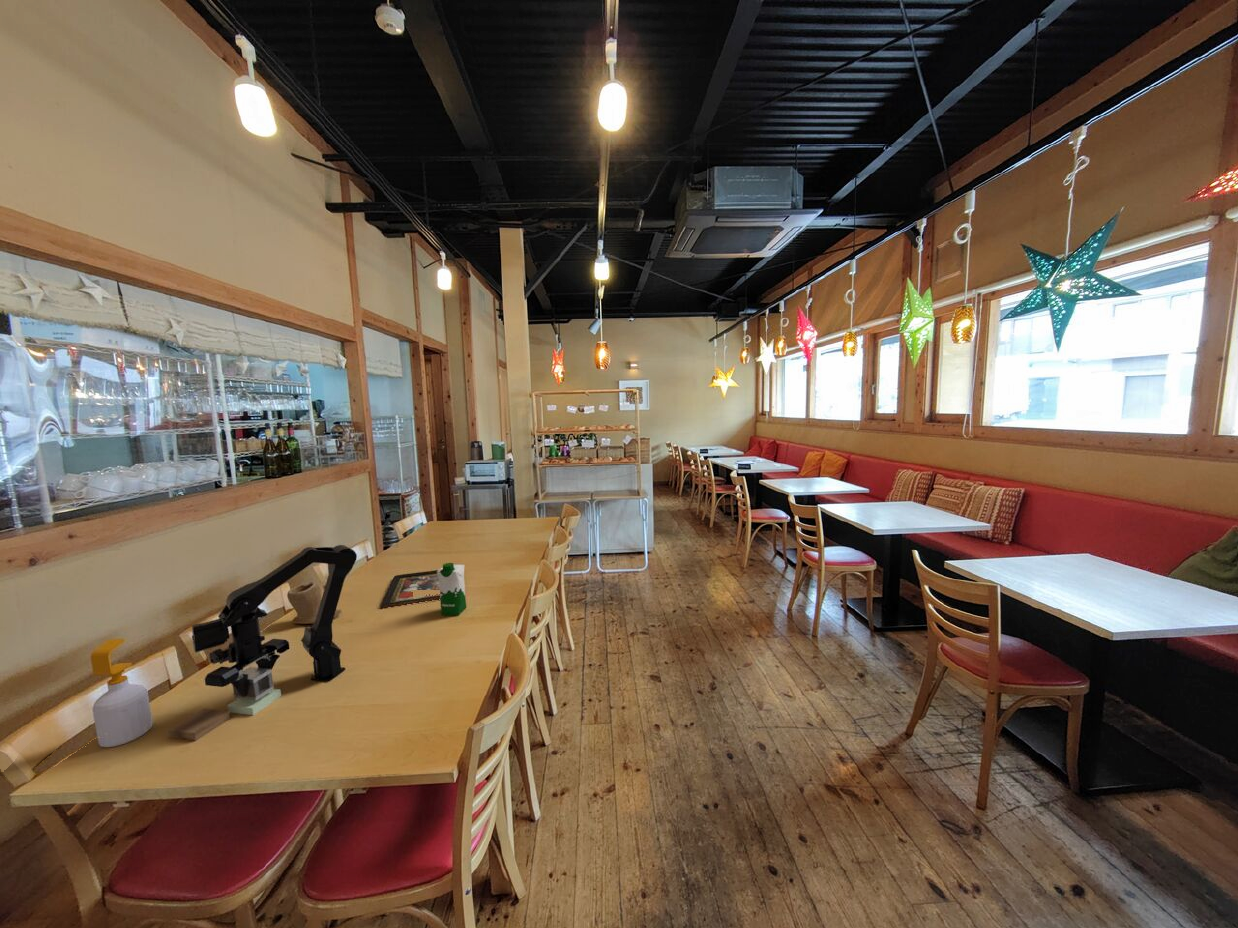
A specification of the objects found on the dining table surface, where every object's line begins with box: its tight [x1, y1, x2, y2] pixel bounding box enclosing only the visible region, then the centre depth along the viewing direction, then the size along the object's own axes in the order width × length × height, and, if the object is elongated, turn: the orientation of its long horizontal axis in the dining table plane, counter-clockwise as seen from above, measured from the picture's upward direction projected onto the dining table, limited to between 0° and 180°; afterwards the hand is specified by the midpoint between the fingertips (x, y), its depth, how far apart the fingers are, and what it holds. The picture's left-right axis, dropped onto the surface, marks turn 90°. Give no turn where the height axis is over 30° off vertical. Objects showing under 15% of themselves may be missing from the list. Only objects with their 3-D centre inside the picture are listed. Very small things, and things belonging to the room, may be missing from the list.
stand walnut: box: [168, 708, 231, 742], centre depth 113 cm, size 8×8×2 cm
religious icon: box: [380, 569, 440, 610], centre depth 201 cm, size 38×35×3 cm
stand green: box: [227, 688, 282, 716], centre depth 122 cm, size 8×8×2 cm
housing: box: [232, 666, 275, 701], centre depth 121 cm, size 7×5×6 cm
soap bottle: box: [90, 638, 153, 748], centre depth 110 cm, size 9×9×25 cm
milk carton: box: [437, 562, 467, 617], centre depth 175 cm, size 9×9×20 cm
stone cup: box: [286, 581, 343, 625], centre depth 170 cm, size 15×12×15 cm
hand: (254, 690), depth 122 cm, fingers closed on housing, 5 cm apart
